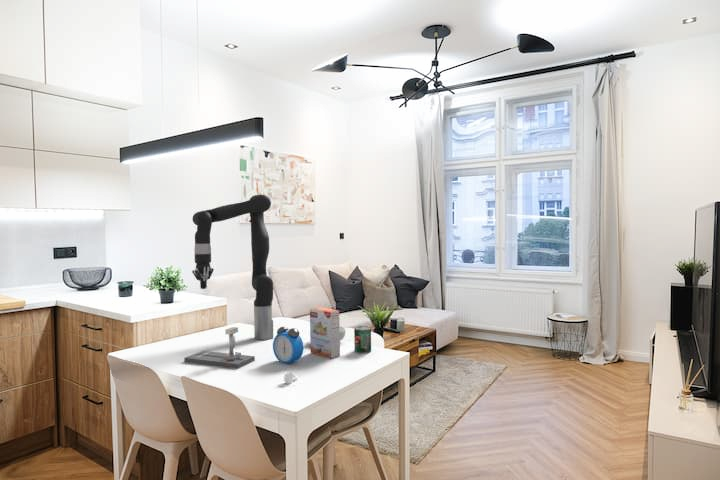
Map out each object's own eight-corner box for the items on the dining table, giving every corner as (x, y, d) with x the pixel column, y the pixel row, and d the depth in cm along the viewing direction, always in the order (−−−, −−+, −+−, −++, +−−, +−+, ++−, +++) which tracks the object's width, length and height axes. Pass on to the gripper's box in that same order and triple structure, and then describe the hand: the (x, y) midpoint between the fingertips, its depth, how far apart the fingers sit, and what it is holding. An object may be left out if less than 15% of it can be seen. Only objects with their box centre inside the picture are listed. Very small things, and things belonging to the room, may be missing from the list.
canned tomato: (374, 351, 213) (374, 327, 213) (362, 354, 207) (362, 330, 207) (362, 348, 219) (362, 325, 218) (350, 351, 213) (350, 327, 213)
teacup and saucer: (293, 378, 177) (293, 368, 177) (305, 383, 171) (305, 372, 171) (273, 383, 171) (273, 373, 171) (285, 389, 165) (285, 378, 165)
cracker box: (309, 353, 210) (309, 308, 210) (319, 350, 215) (318, 306, 214) (330, 359, 201) (330, 311, 200) (340, 356, 205) (339, 309, 204)
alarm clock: (272, 361, 198) (271, 327, 198) (282, 358, 203) (282, 324, 203) (294, 366, 191) (293, 330, 190) (304, 362, 196) (304, 328, 195)
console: (184, 362, 199) (184, 357, 198) (203, 354, 210) (203, 350, 210) (237, 368, 188) (237, 363, 188) (254, 360, 199) (254, 356, 199)
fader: (223, 358, 195) (222, 329, 194) (231, 355, 200) (231, 326, 200) (233, 359, 193) (232, 330, 192) (241, 356, 198) (240, 327, 198)
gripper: (199, 253, 212) (200, 290, 213) (218, 252, 225) (218, 287, 225) (186, 253, 215) (187, 290, 216) (205, 252, 227) (206, 286, 228)
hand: (203, 288), depth 220 cm, fingers closed
